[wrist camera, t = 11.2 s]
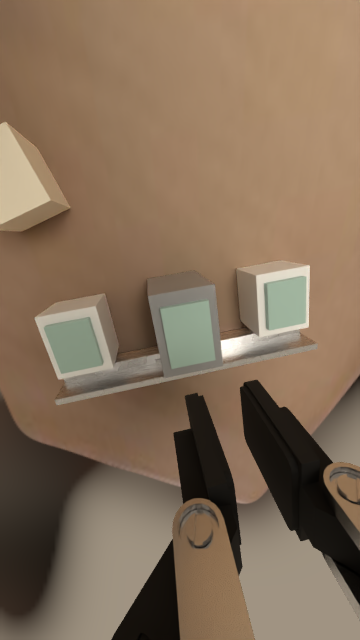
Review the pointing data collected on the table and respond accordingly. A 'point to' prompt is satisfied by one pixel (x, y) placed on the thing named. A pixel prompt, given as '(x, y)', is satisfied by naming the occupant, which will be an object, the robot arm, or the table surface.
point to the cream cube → (25, 184)
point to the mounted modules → (100, 336)
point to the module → (185, 322)
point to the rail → (148, 370)
